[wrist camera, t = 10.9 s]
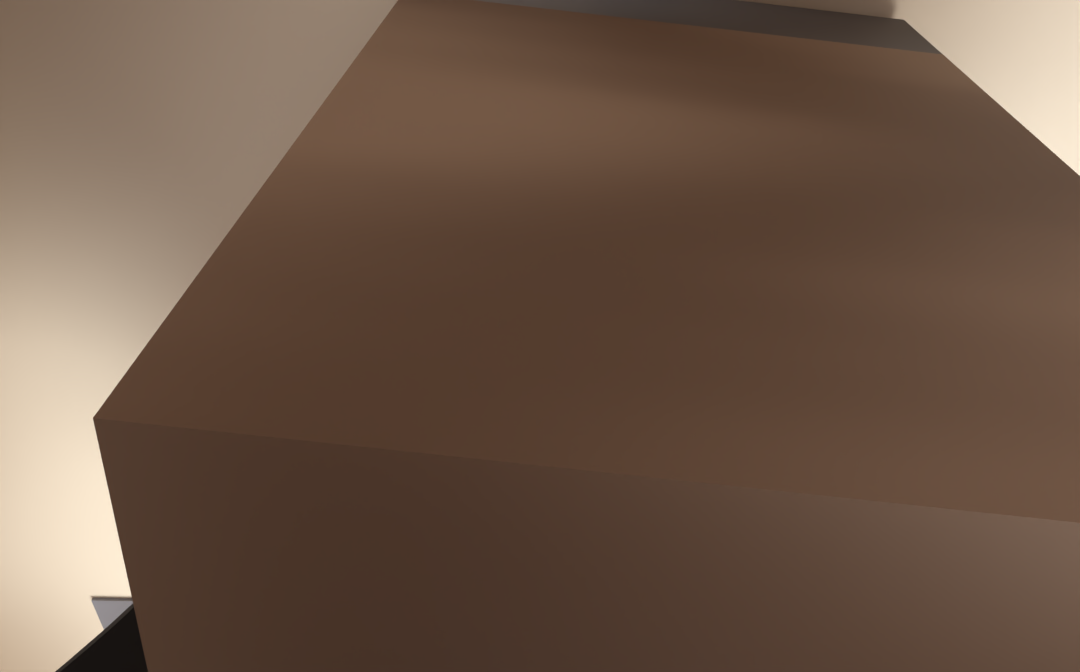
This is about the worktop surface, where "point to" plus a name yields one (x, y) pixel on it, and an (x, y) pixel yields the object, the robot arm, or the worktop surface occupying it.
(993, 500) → the block
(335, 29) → the board
